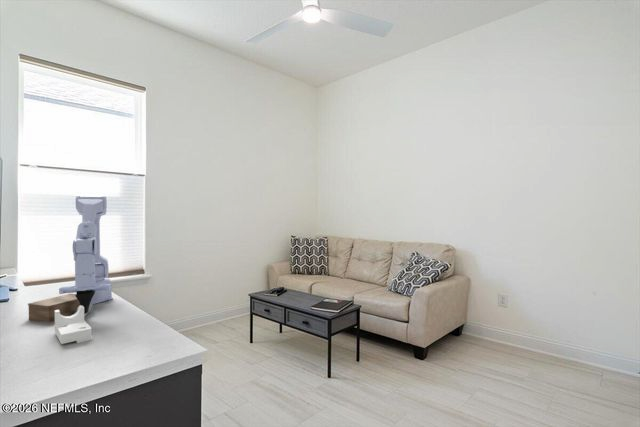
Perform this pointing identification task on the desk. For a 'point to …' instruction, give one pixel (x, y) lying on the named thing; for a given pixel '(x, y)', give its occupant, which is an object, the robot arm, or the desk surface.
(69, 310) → the cabinet
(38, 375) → the desk surface
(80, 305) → the door
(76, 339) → the bracket
